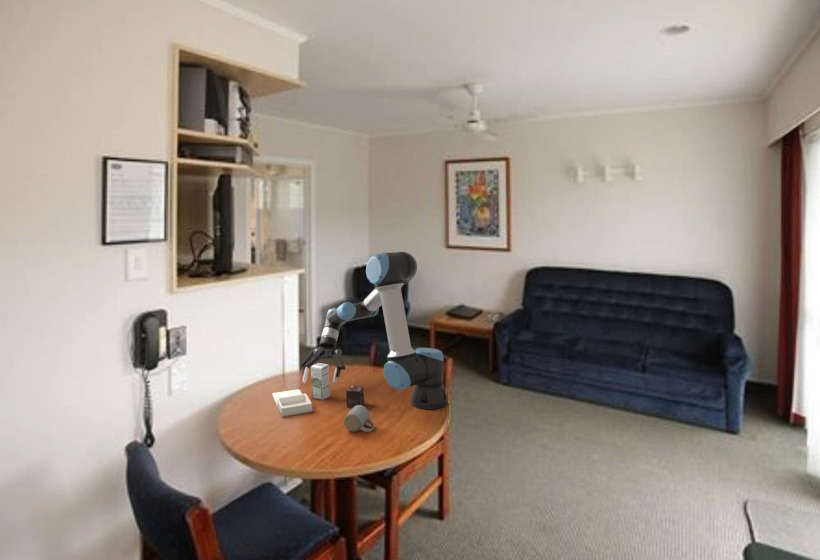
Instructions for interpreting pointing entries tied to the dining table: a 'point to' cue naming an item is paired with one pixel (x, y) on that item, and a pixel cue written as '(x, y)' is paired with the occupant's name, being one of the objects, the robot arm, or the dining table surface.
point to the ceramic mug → (358, 419)
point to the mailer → (292, 402)
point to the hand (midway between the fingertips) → (318, 382)
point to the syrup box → (320, 381)
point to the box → (355, 396)
